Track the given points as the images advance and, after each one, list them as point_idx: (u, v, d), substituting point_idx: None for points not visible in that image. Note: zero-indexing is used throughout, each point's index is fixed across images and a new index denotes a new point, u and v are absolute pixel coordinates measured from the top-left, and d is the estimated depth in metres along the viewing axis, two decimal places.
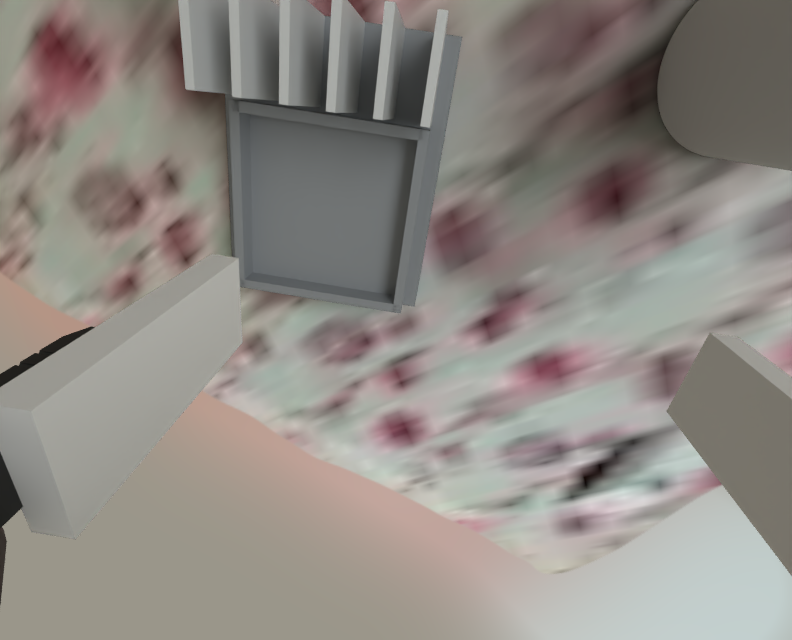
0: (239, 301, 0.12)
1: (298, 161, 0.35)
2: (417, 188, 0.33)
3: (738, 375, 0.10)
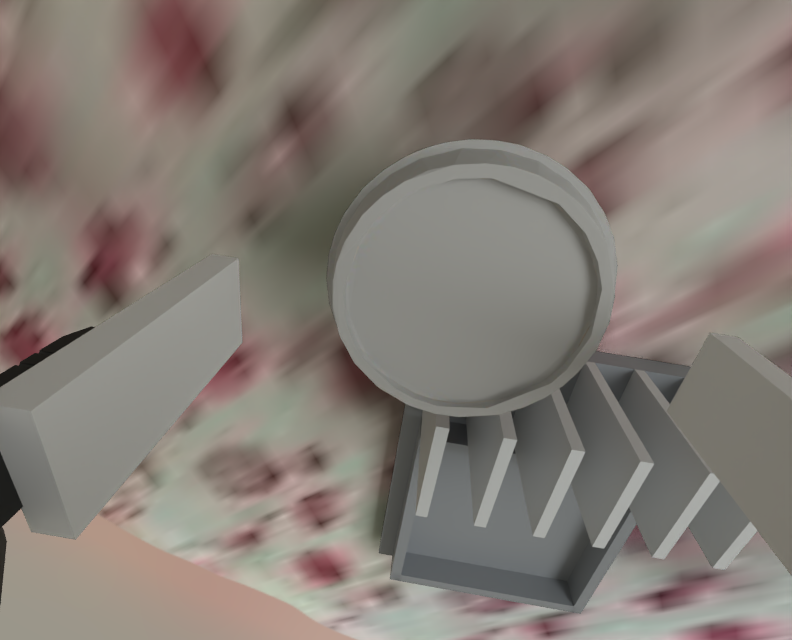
0: (239, 301, 0.12)
1: None
2: (632, 522, 0.28)
3: (739, 376, 0.10)
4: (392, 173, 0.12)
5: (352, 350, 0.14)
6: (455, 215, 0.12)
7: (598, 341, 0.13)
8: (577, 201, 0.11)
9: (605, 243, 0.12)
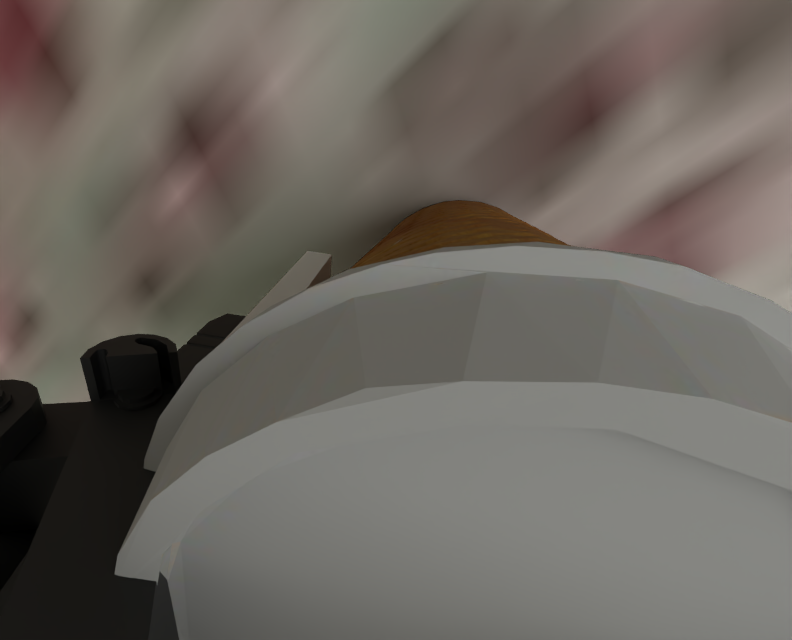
0: None
1: None
2: None
3: None
4: (272, 334, 0.04)
5: None
6: (465, 494, 0.04)
7: None
8: None
9: None
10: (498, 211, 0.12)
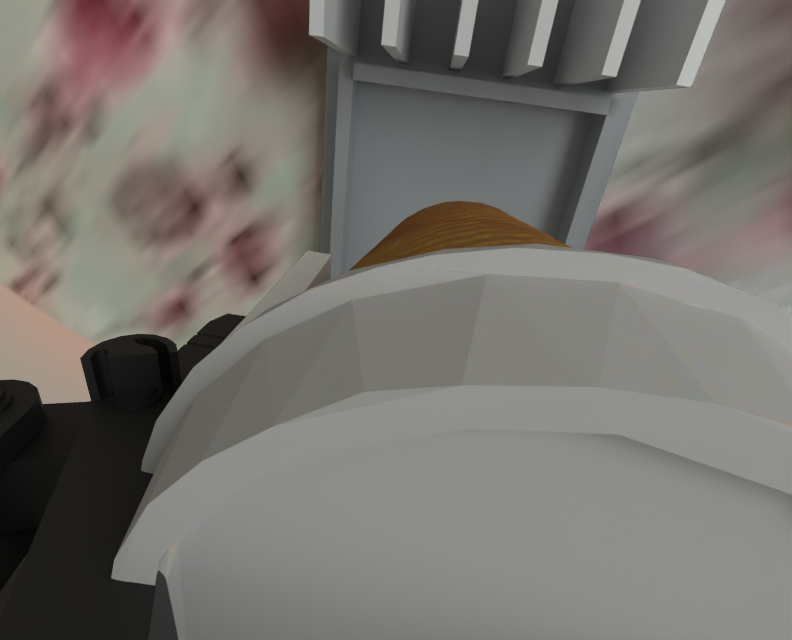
0: None
1: (420, 148, 0.26)
2: (594, 182, 0.24)
3: None
4: (270, 337, 0.04)
5: None
6: (464, 497, 0.04)
7: None
8: None
9: None
10: (498, 212, 0.11)
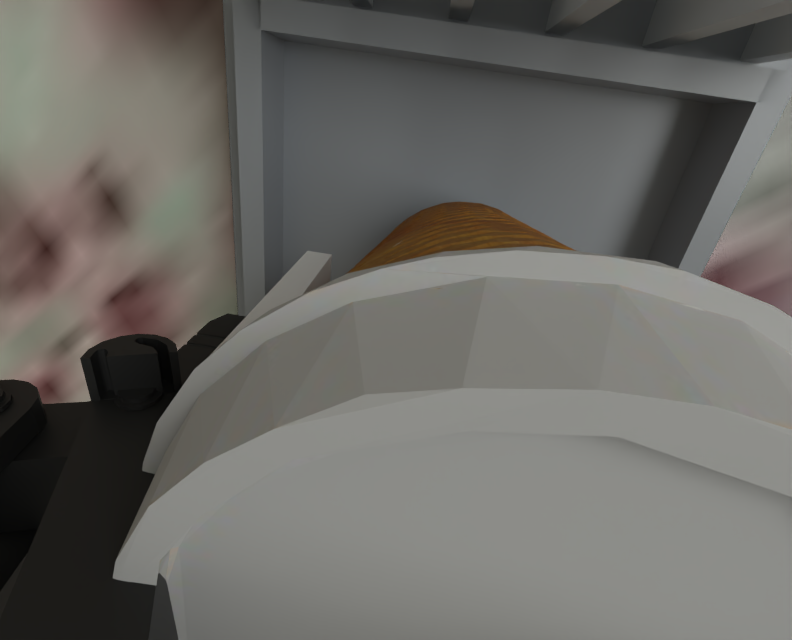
0: None
1: (396, 162, 0.15)
2: (714, 229, 0.13)
3: None
4: (270, 339, 0.04)
5: None
6: (465, 499, 0.04)
7: None
8: None
9: None
10: (498, 212, 0.11)
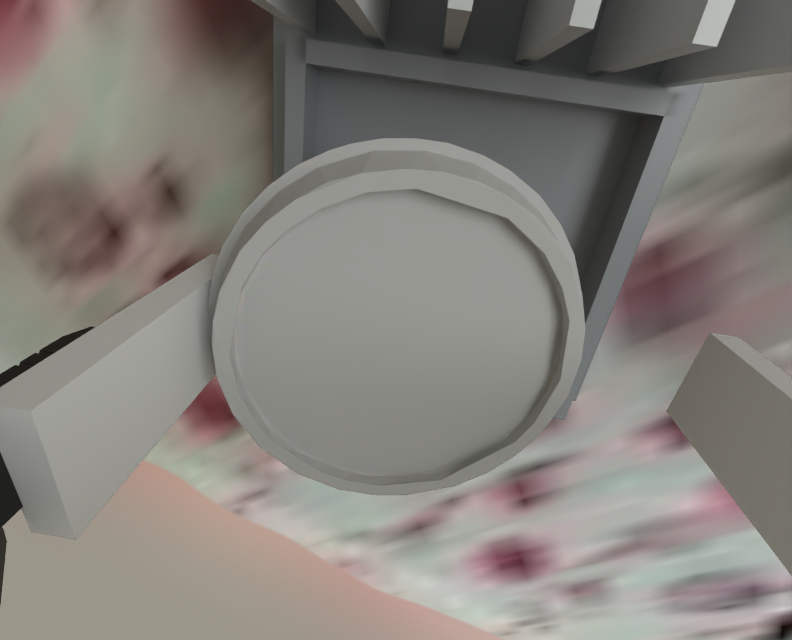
0: None
1: None
2: (641, 210, 0.17)
3: (739, 376, 0.10)
4: (281, 189, 0.09)
5: (254, 432, 0.10)
6: (373, 241, 0.09)
7: (569, 384, 0.10)
8: (530, 213, 0.08)
9: (569, 264, 0.09)
10: None
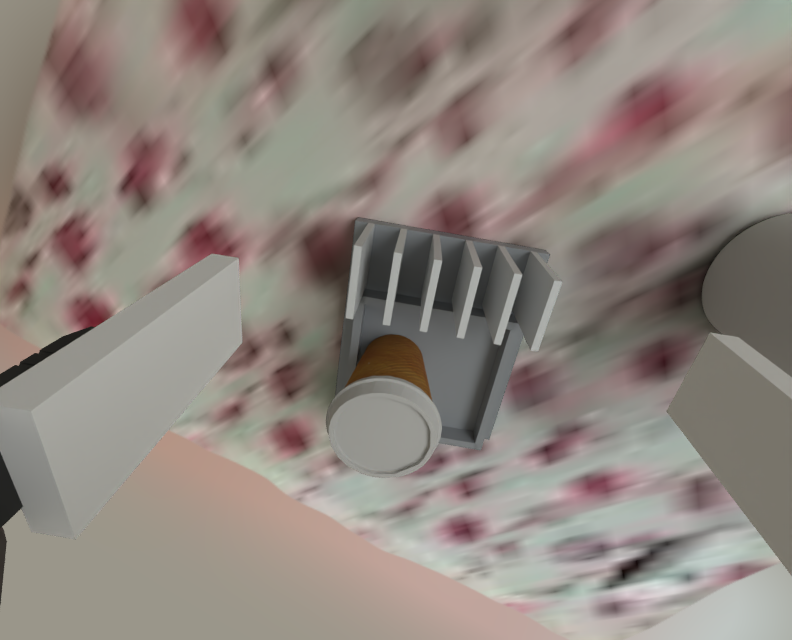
0: (238, 301, 0.12)
1: (403, 332, 0.42)
2: (506, 362, 0.41)
3: (738, 376, 0.10)
4: (351, 387, 0.32)
5: (337, 452, 0.34)
6: (374, 405, 0.32)
7: (433, 448, 0.33)
8: (415, 404, 0.31)
9: (428, 417, 0.32)
10: (399, 344, 0.40)
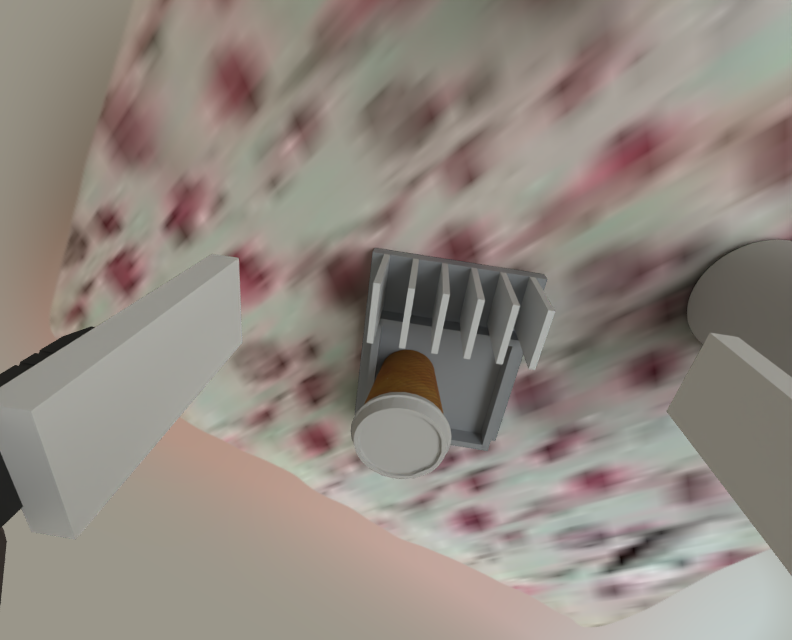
0: (239, 301, 0.12)
1: (416, 347, 0.47)
2: (509, 374, 0.45)
3: (738, 375, 0.10)
4: (372, 402, 0.38)
5: (360, 457, 0.39)
6: (392, 418, 0.37)
7: (444, 454, 0.38)
8: (428, 417, 0.36)
9: (439, 428, 0.37)
10: (413, 359, 0.45)
